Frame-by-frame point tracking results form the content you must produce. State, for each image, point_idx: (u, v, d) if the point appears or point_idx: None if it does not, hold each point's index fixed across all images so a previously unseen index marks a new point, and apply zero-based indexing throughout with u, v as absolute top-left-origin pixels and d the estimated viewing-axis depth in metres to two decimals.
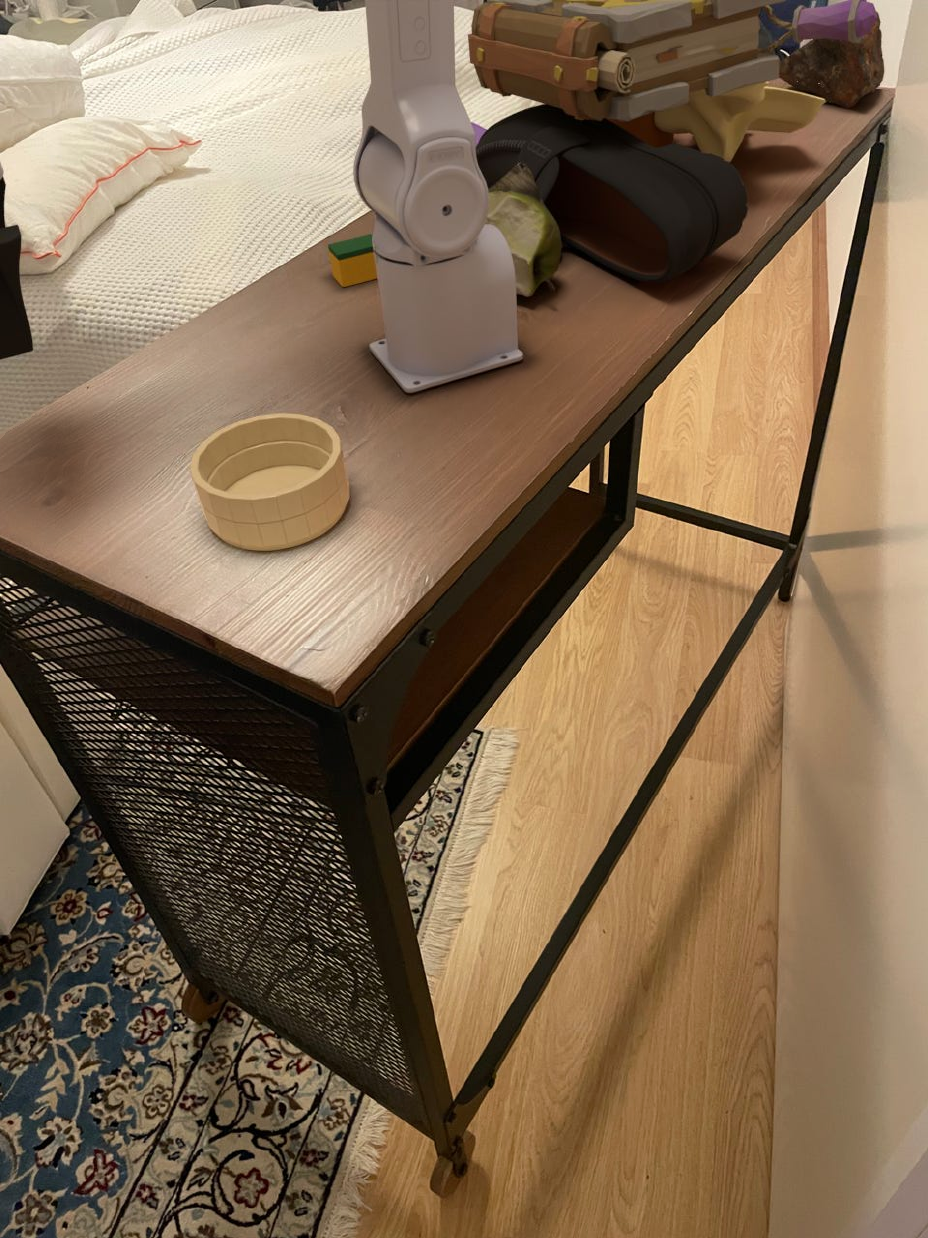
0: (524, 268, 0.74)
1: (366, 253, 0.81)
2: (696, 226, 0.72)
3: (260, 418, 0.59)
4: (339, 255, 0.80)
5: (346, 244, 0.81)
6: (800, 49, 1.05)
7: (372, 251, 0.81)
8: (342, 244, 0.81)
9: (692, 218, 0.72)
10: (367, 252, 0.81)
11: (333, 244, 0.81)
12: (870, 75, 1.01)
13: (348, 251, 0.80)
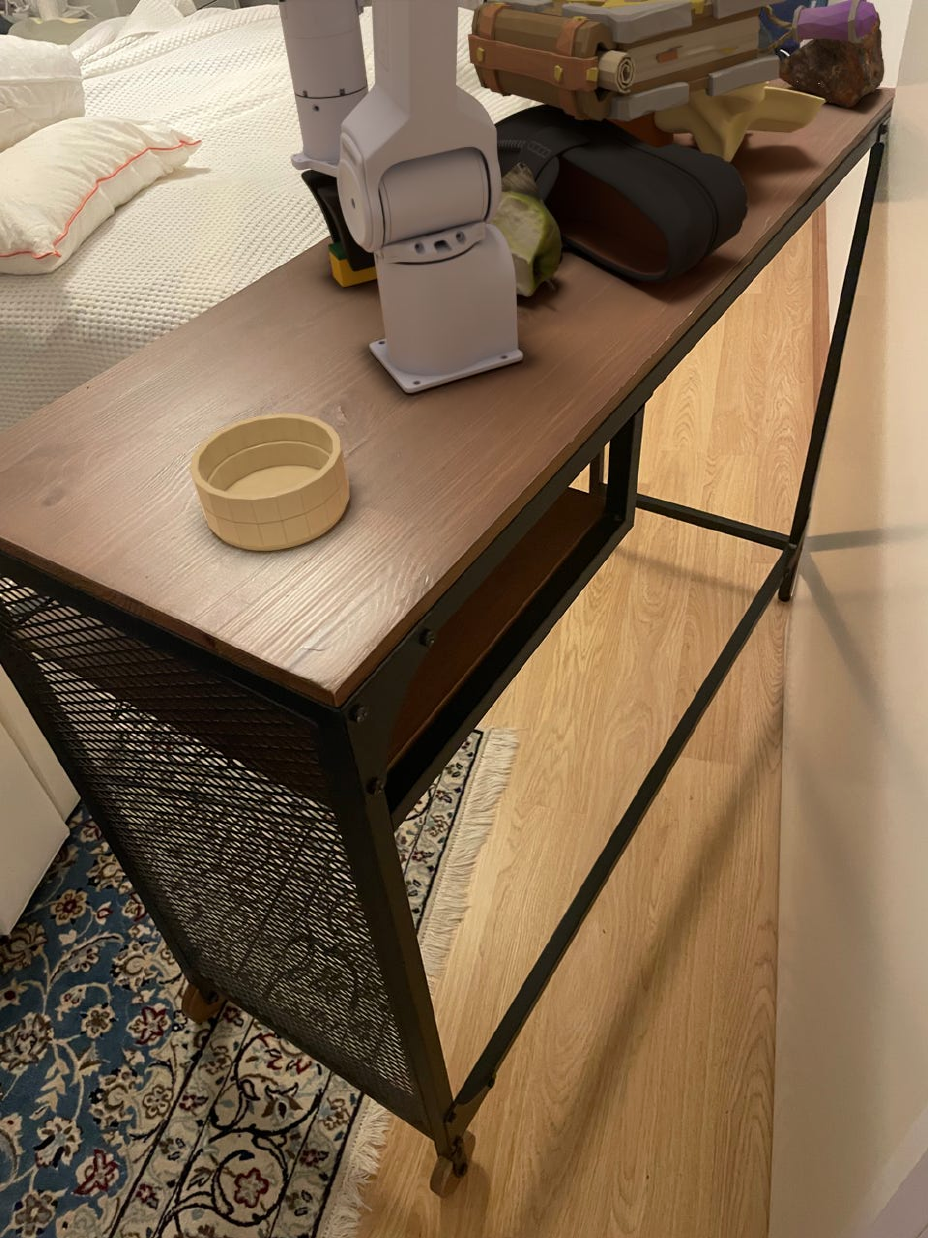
0: (524, 268, 0.74)
1: None
2: (696, 226, 0.72)
3: (260, 418, 0.59)
4: (339, 255, 0.80)
5: None
6: (800, 49, 1.05)
7: None
8: None
9: (692, 218, 0.72)
10: None
11: (333, 244, 0.81)
12: (870, 75, 1.01)
13: None
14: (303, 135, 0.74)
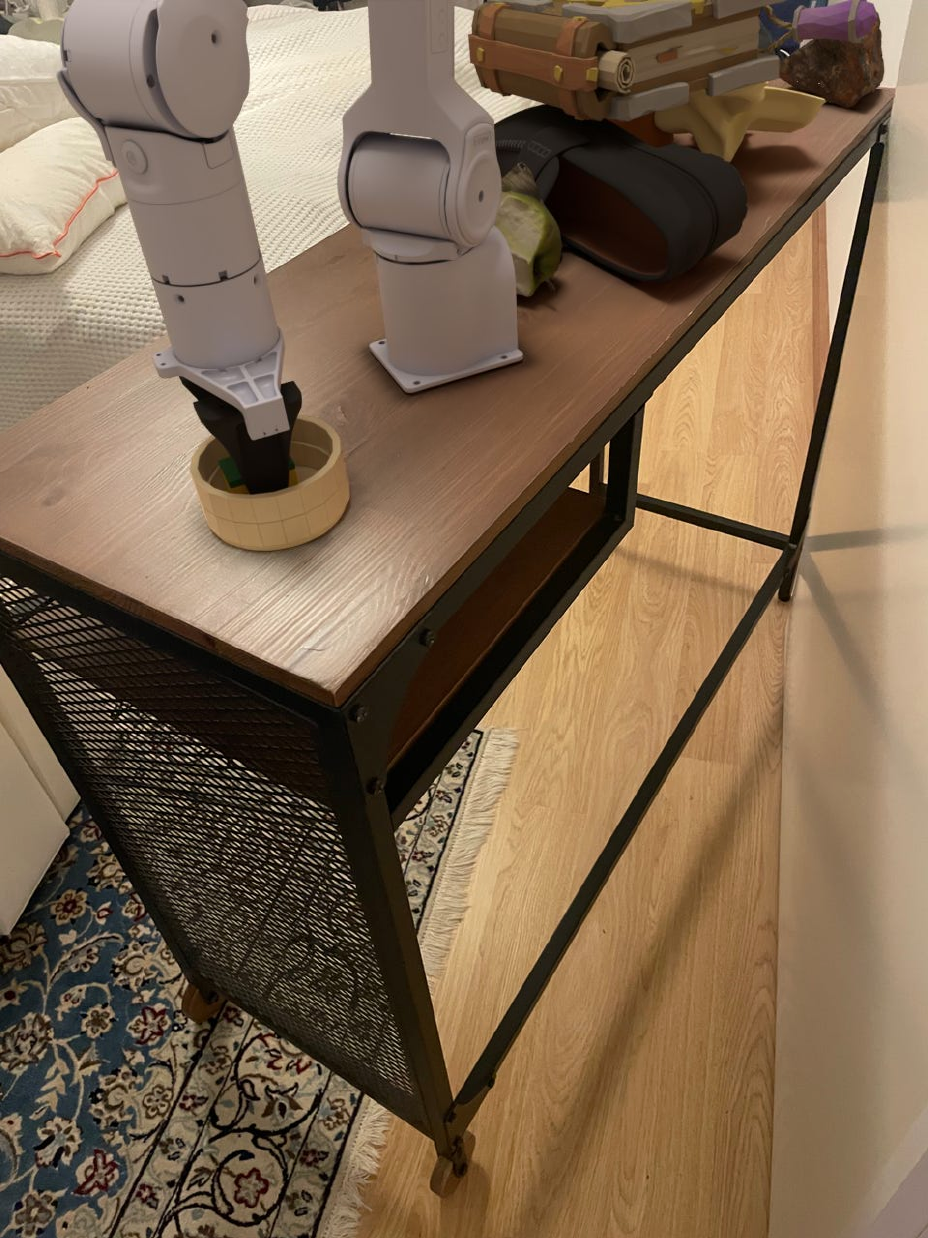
0: (524, 268, 0.74)
1: None
2: (696, 226, 0.72)
3: None
4: (231, 482, 0.55)
5: None
6: (800, 49, 1.05)
7: None
8: None
9: (692, 218, 0.72)
10: None
11: (226, 460, 0.57)
12: (870, 75, 1.01)
13: None
14: (167, 330, 0.49)
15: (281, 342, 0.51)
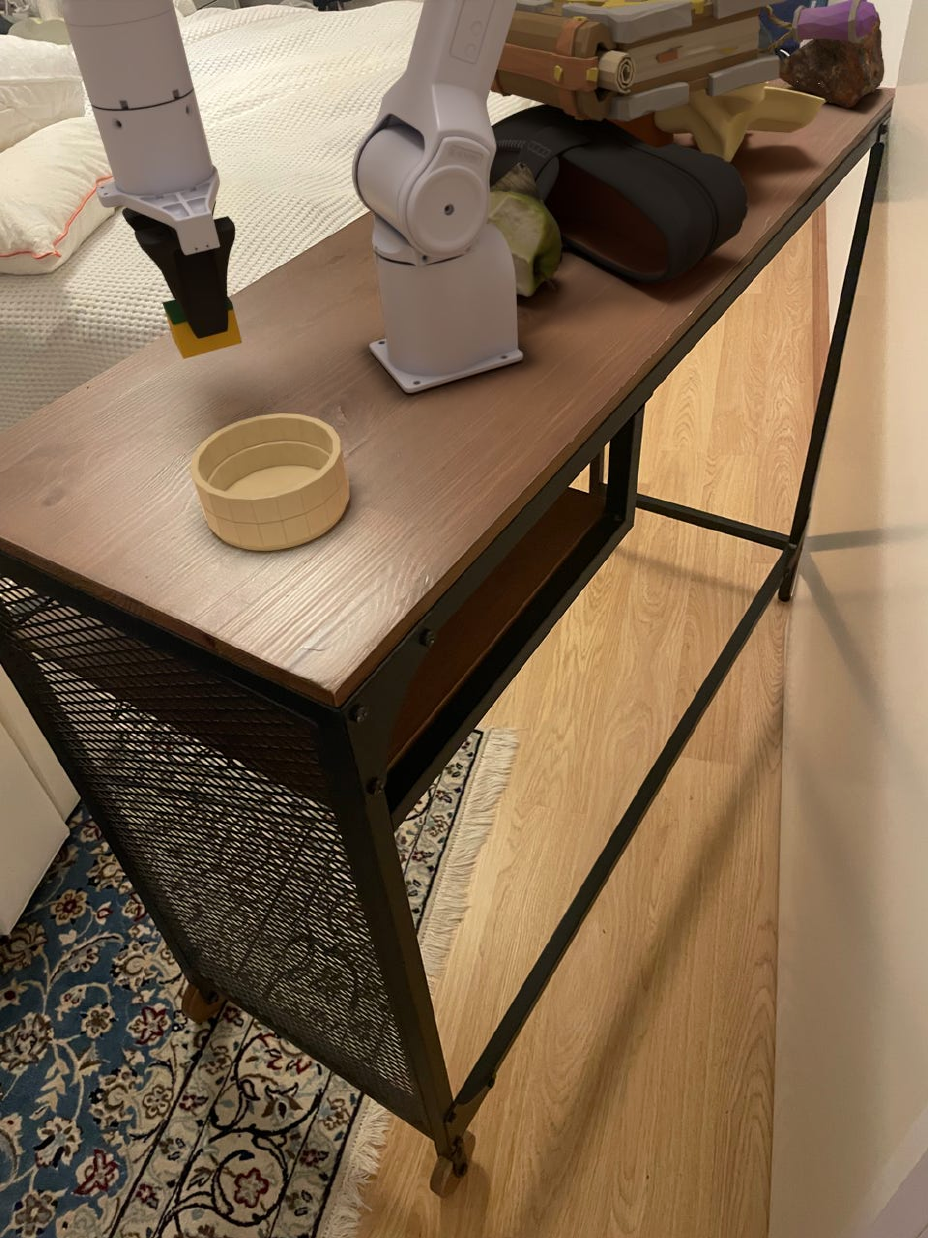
0: (524, 268, 0.74)
1: None
2: (696, 226, 0.72)
3: (260, 418, 0.59)
4: (173, 318, 0.60)
5: None
6: (800, 49, 1.05)
7: None
8: None
9: (692, 218, 0.72)
10: None
11: (169, 302, 0.61)
12: (870, 75, 1.01)
13: None
14: (109, 160, 0.54)
15: (215, 176, 0.55)
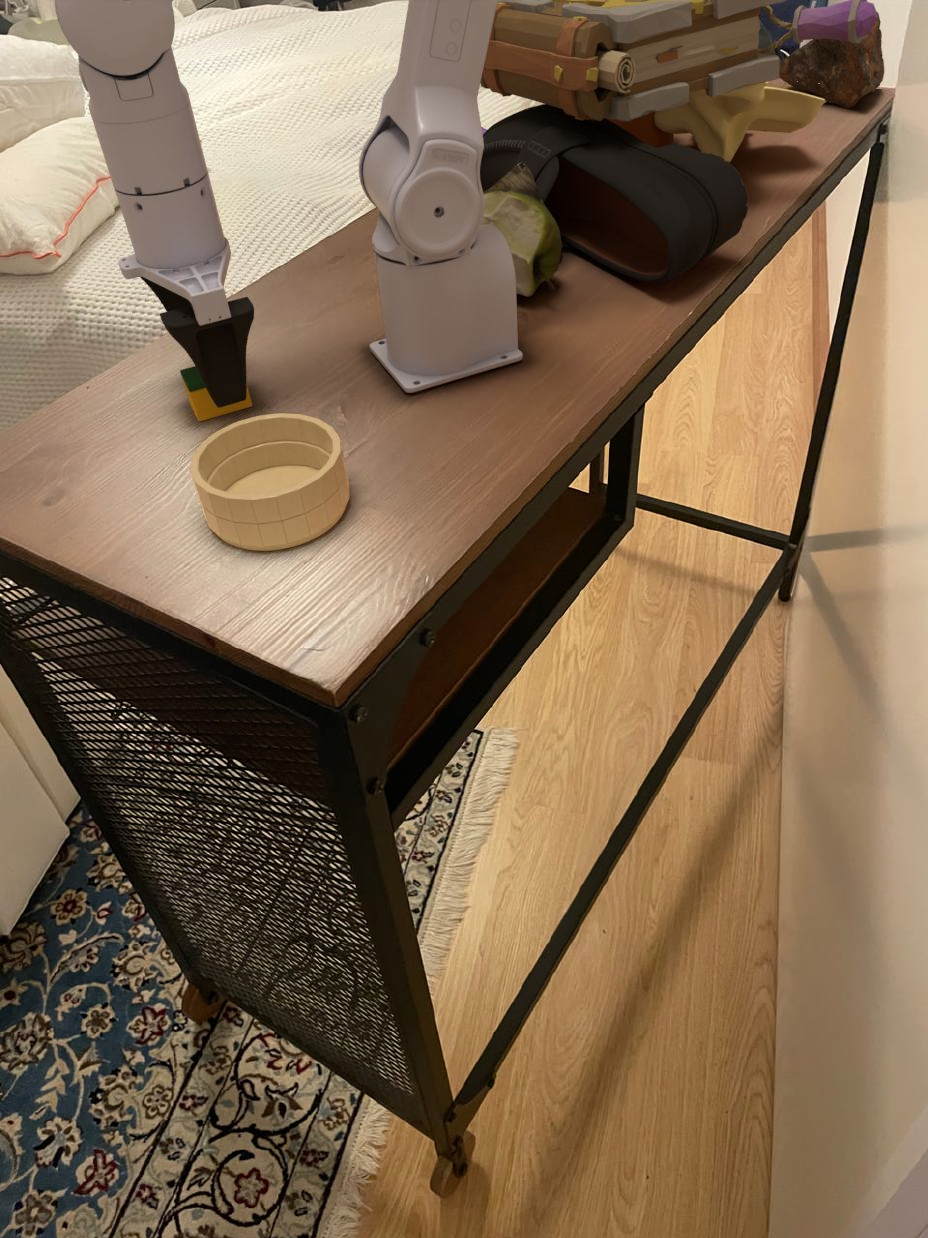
0: (524, 268, 0.74)
1: None
2: (696, 226, 0.72)
3: (260, 418, 0.59)
4: (190, 386, 0.65)
5: None
6: (800, 49, 1.05)
7: None
8: (197, 371, 0.67)
9: (692, 218, 0.72)
10: None
11: (186, 370, 0.67)
12: (870, 75, 1.01)
13: (201, 381, 0.66)
14: (130, 236, 0.59)
15: (227, 249, 0.60)
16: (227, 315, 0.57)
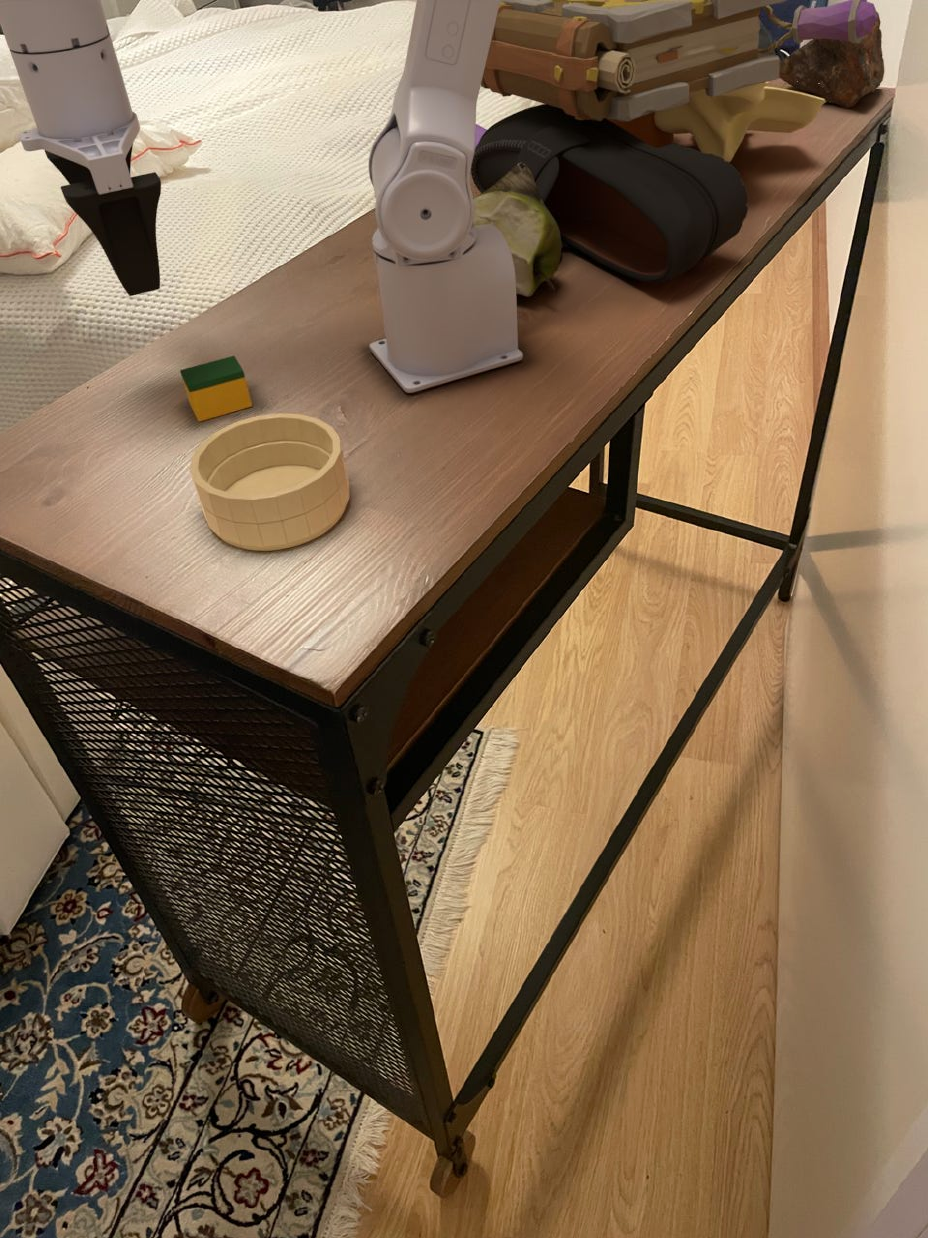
0: (524, 268, 0.74)
1: (224, 382, 0.66)
2: (696, 226, 0.72)
3: (260, 418, 0.59)
4: (190, 386, 0.65)
5: (202, 370, 0.67)
6: (800, 49, 1.05)
7: (232, 379, 0.66)
8: (197, 371, 0.67)
9: (692, 218, 0.72)
10: (226, 381, 0.66)
11: (186, 370, 0.67)
12: (870, 75, 1.01)
13: (201, 381, 0.66)
14: (29, 105, 0.56)
15: (134, 122, 0.57)
16: (129, 184, 0.54)
